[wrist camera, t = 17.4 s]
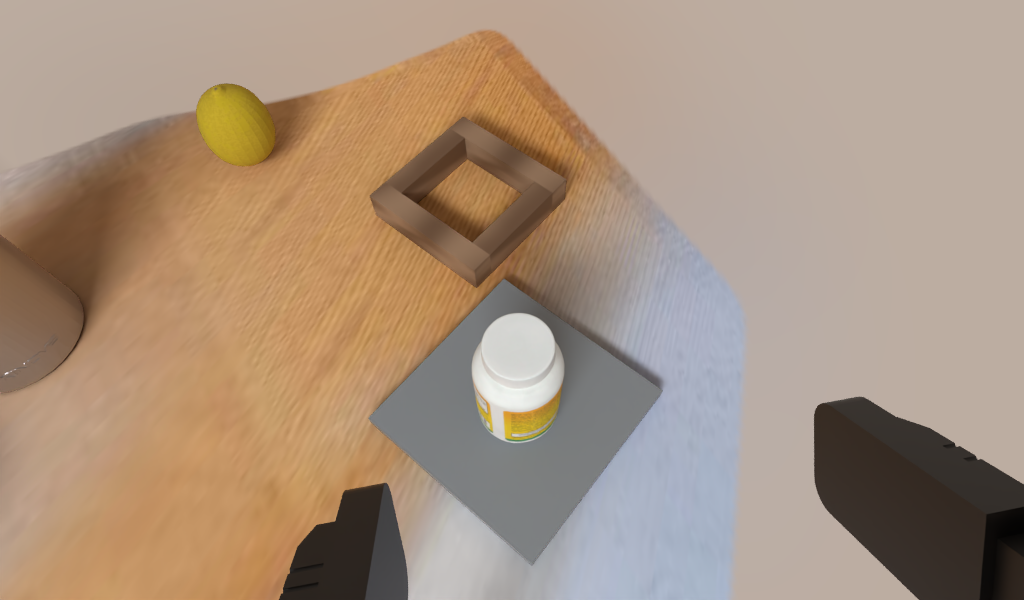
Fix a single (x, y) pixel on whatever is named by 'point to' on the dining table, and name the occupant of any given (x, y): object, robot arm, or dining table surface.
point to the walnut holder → (441, 160)
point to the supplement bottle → (518, 378)
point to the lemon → (235, 125)
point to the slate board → (516, 466)
